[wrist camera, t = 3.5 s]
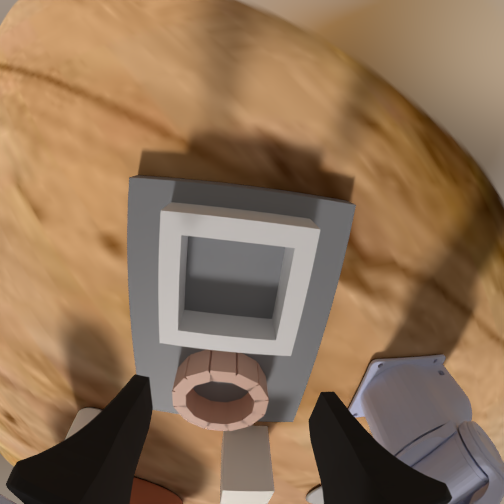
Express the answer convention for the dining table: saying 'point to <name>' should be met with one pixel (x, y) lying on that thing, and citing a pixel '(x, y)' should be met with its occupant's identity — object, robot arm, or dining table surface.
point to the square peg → (246, 466)
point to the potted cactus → (151, 494)
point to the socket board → (230, 295)
